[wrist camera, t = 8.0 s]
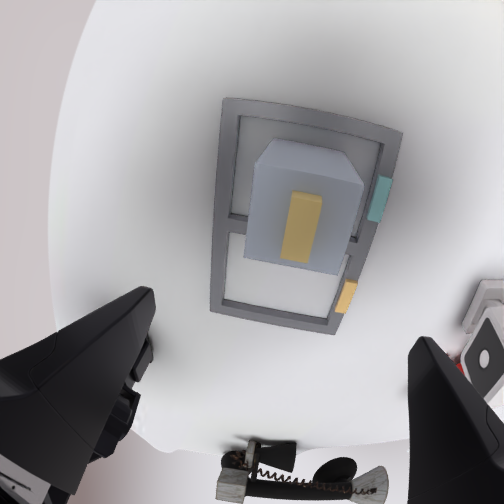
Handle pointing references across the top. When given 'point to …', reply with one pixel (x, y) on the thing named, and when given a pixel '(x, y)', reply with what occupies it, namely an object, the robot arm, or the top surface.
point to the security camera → (486, 342)
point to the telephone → (283, 457)
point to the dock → (238, 224)
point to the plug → (302, 206)
